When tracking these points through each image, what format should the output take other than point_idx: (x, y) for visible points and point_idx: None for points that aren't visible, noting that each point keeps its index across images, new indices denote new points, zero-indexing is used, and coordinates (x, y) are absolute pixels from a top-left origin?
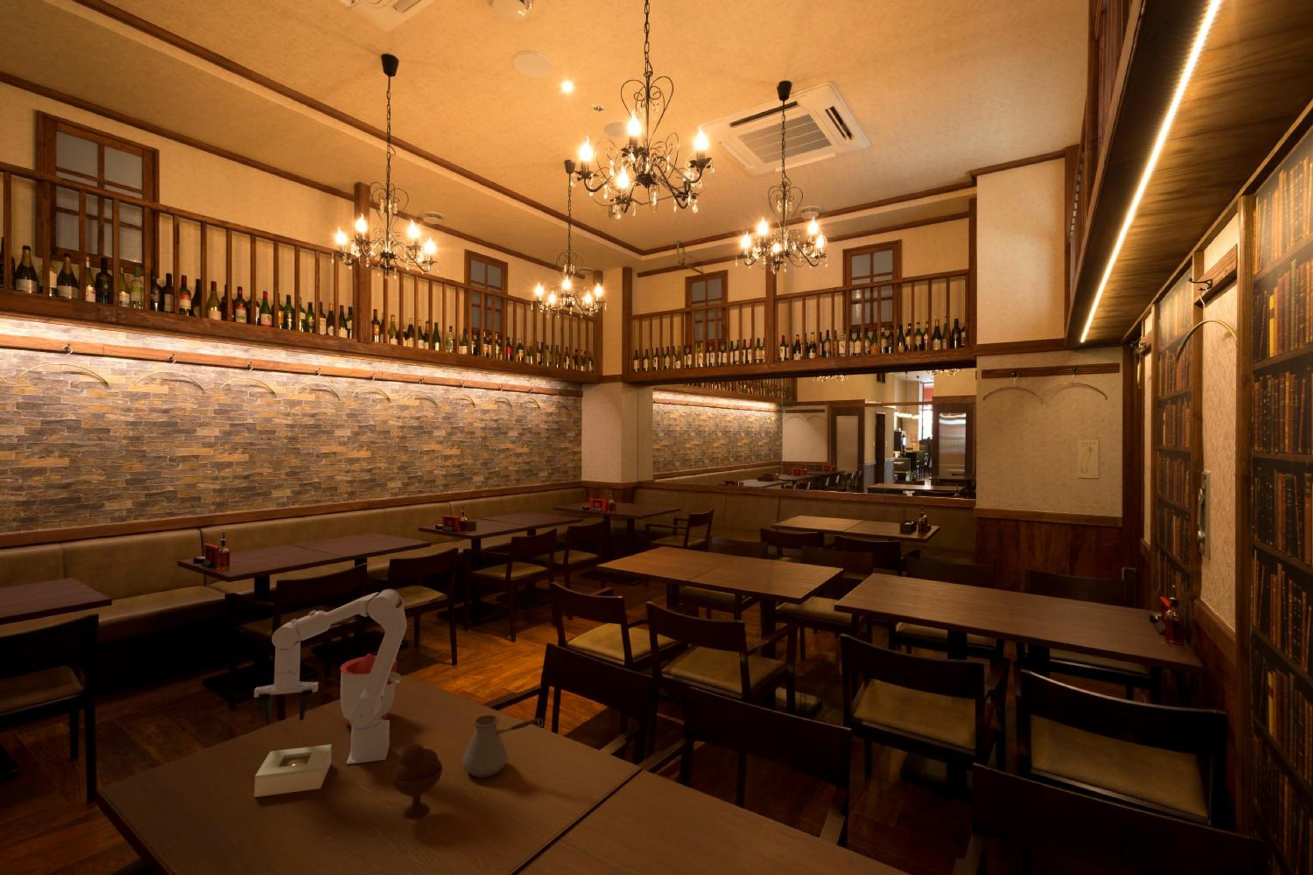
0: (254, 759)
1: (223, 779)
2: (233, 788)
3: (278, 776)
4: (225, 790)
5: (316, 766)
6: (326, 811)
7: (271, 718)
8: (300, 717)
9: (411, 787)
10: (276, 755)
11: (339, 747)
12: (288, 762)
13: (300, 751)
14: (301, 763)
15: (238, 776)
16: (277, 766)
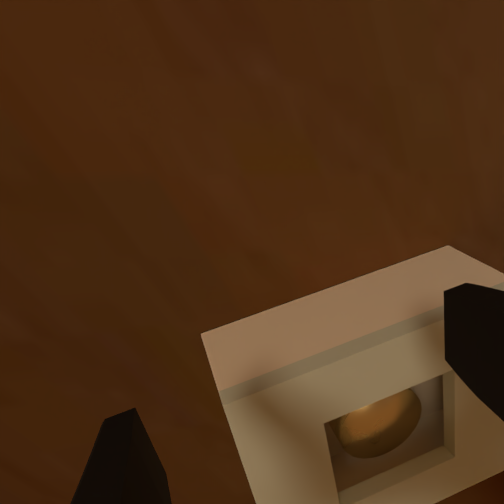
0: (10, 230)
1: (7, 429)
2: None
3: None
4: None
5: (494, 464)
6: (487, 484)
7: (141, 443)
8: (482, 390)
9: None
10: (283, 432)
11: (454, 73)
12: (346, 420)
13: (393, 376)
14: (407, 414)
15: (68, 396)
16: (338, 500)
